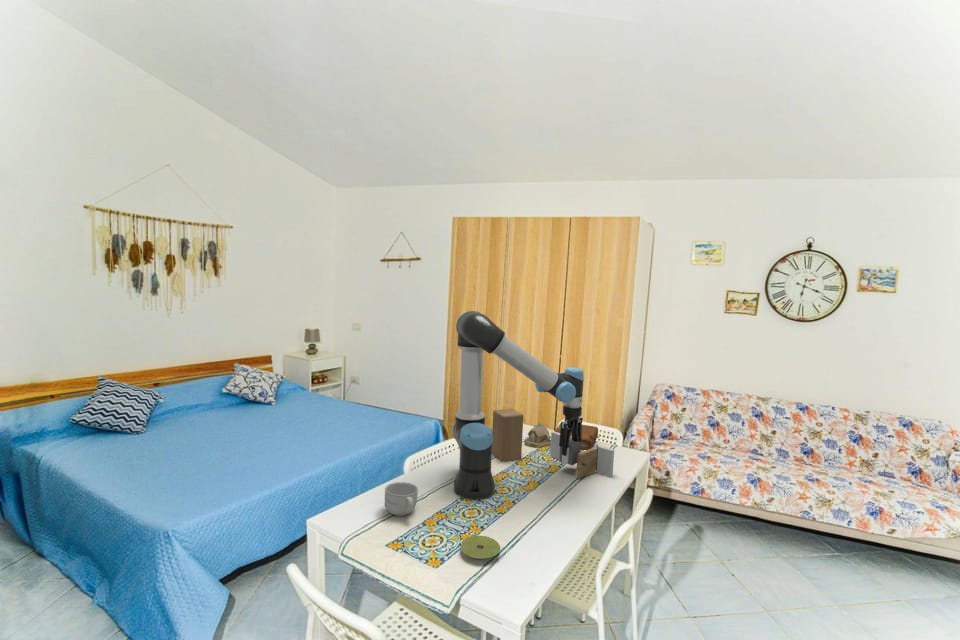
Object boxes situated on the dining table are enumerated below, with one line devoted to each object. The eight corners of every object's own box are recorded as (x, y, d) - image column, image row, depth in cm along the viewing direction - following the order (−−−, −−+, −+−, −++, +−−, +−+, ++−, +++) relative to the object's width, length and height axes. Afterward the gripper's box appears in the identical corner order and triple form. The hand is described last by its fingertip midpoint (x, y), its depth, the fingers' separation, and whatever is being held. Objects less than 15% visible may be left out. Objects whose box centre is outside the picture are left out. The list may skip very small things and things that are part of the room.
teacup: (381, 505, 155) (382, 482, 154) (413, 501, 159) (414, 478, 158) (388, 526, 142) (389, 501, 141) (423, 521, 146) (424, 497, 145)
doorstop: (572, 465, 186) (573, 446, 185) (559, 461, 190) (560, 442, 189) (579, 461, 190) (580, 442, 189) (567, 457, 194) (568, 439, 193)
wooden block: (490, 453, 205) (492, 410, 203) (510, 451, 209) (512, 408, 208) (501, 462, 196) (503, 416, 194) (521, 459, 200) (523, 414, 198)
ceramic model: (536, 437, 230) (537, 417, 230) (555, 442, 223) (556, 422, 222) (519, 443, 220) (521, 423, 219) (539, 450, 212) (540, 429, 212)
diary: (591, 453, 213) (591, 441, 213) (551, 446, 220) (552, 434, 219) (597, 437, 234) (598, 426, 234) (561, 431, 241) (561, 421, 241)
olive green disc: (487, 538, 138) (488, 531, 138) (507, 558, 128) (507, 551, 128) (453, 547, 132) (453, 540, 132) (471, 569, 123) (471, 562, 122)
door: (600, 471, 190) (602, 446, 189) (581, 480, 181) (583, 453, 180) (595, 469, 191) (596, 444, 190) (576, 477, 183) (577, 451, 182)
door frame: (609, 477, 185) (611, 450, 184) (549, 456, 205) (551, 432, 204) (612, 475, 187) (614, 449, 186) (552, 455, 206) (554, 431, 205)
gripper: (567, 412, 178) (564, 469, 180) (592, 403, 192) (589, 457, 194) (551, 407, 183) (548, 464, 185) (576, 399, 197) (573, 452, 199)
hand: (569, 460), depth 190 cm, fingers closed on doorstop, 6 cm apart
